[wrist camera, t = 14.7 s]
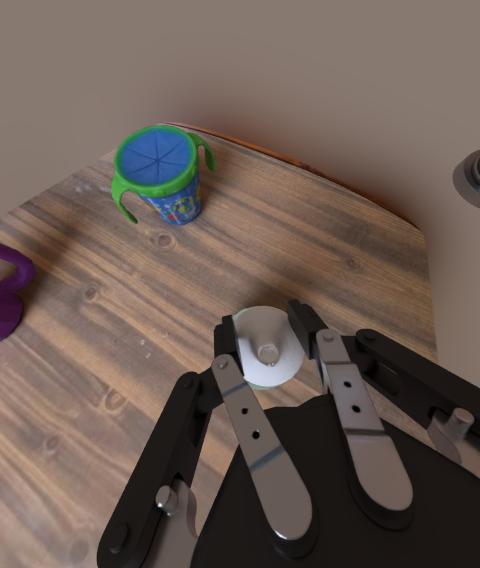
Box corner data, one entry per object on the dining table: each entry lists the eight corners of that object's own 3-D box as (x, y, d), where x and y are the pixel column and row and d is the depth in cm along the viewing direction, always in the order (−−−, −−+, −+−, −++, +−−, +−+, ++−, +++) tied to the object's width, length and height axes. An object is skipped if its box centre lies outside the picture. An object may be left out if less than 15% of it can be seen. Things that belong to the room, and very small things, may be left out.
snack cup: (205, 167, 37) (189, 103, 27) (235, 207, 34) (230, 152, 24) (128, 208, 35) (81, 156, 25) (154, 254, 32) (112, 215, 22)
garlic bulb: (305, 320, 18) (345, 303, 11) (290, 392, 17) (325, 433, 9) (240, 302, 19) (234, 274, 12) (220, 369, 18) (197, 388, 10)
